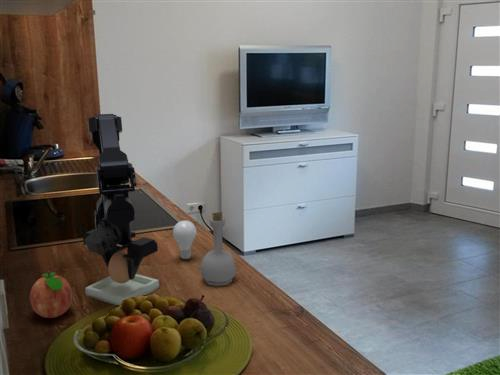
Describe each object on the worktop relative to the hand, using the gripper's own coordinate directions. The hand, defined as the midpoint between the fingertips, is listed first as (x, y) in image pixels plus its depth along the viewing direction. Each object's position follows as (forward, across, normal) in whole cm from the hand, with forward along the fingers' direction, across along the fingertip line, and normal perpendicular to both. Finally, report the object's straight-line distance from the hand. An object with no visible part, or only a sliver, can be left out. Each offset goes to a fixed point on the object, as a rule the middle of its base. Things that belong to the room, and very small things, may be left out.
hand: (122, 276), depth 124 cm
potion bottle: (+4, +16, +17) cm, 24 cm away
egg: (+2, 0, 0) cm, 2 cm away
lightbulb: (+4, 0, +24) cm, 24 cm away
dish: (+4, 0, 0) cm, 4 cm away
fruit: (+4, -5, -16) cm, 17 cm away
